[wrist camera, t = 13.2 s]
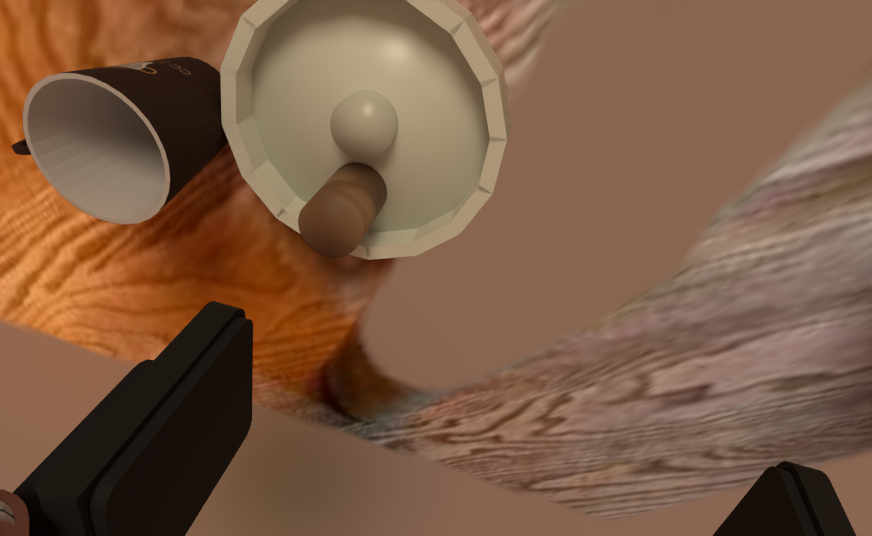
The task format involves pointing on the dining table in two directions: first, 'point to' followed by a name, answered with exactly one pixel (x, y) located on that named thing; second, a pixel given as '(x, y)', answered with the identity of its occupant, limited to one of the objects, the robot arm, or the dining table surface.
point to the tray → (368, 111)
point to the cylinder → (342, 210)
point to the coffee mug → (124, 134)
